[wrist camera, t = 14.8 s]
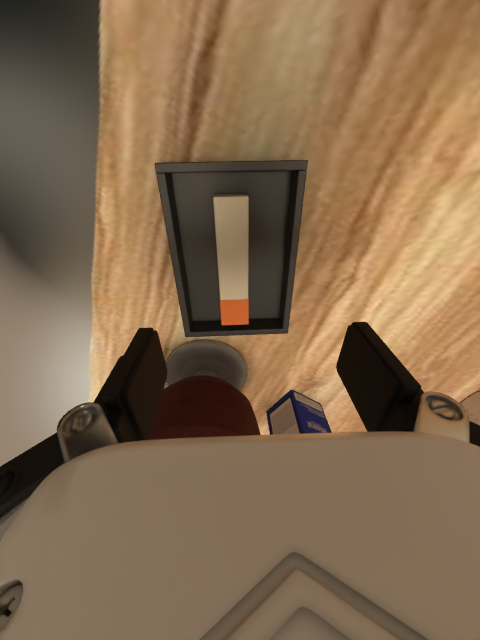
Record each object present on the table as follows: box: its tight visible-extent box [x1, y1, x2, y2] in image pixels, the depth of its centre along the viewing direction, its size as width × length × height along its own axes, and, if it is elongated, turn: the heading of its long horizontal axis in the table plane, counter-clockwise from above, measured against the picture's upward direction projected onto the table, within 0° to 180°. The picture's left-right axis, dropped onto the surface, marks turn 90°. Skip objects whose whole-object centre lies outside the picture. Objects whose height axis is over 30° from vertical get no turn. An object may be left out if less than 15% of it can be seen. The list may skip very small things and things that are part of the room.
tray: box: [155, 160, 308, 337], centre depth 25 cm, size 17×12×3 cm
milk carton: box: [266, 390, 332, 435], centre depth 32 cm, size 7×7×20 cm
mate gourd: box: [148, 340, 260, 440], centre depth 27 cm, size 16×14×20 cm
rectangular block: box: [213, 193, 249, 325], centre depth 24 cm, size 13×3×3 cm, turn 1°
